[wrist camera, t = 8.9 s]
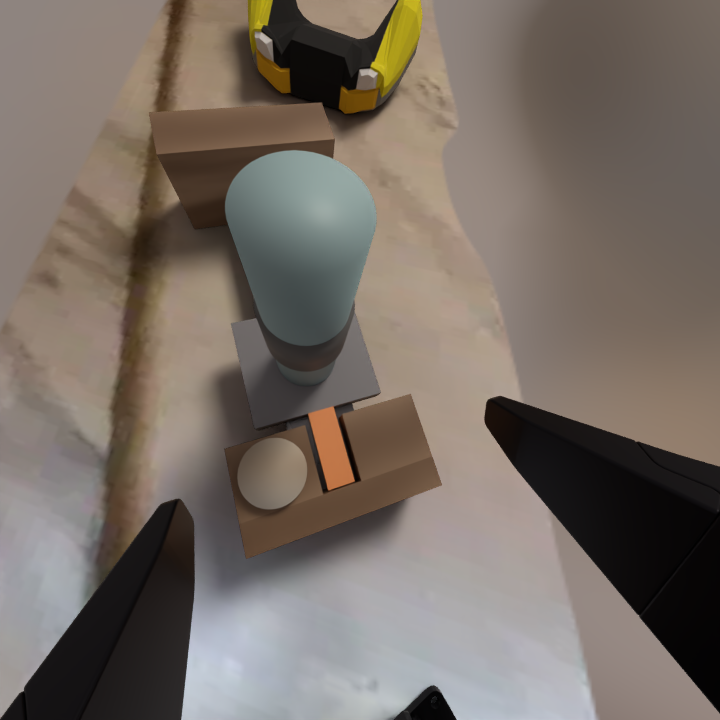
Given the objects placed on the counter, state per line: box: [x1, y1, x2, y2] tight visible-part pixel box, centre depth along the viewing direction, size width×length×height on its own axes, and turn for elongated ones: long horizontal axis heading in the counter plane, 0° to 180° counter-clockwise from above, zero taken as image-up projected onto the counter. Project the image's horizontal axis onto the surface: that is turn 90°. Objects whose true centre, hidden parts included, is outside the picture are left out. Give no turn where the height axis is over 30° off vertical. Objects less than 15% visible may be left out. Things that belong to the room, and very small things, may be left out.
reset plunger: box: [308, 406, 355, 491], centre depth 17 cm, size 4×1×1 cm, turn 17°
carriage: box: [225, 150, 381, 430], centre depth 13 cm, size 6×7×13 cm
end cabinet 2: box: [224, 394, 442, 559], centre depth 17 cm, size 5×10×4 cm, turn 107°
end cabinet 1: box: [149, 103, 335, 229], centre depth 21 cm, size 3×10×6 cm, turn 107°
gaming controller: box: [248, 0, 422, 114], centre depth 27 cm, size 15×6×10 cm
